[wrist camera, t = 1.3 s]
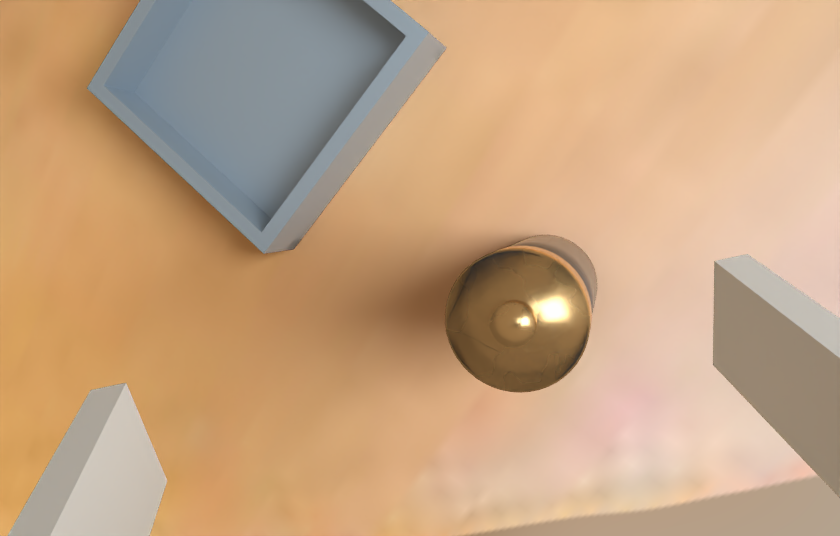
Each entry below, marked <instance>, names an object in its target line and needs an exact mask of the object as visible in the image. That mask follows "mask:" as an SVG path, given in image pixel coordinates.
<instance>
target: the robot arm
mask: <svg viewBox="0 0 840 536" xmlns="http://www.w3.org/2000/svg"><path fill="white" fill-rule="evenodd" d="M713 365H714V366H715V367H716V369H717V370H718V371H719V372H720V373H721V374H722V375H723V376H724V377H725V378H726V379H727V380H728V381H729V382H730V383H731V384H732V385H733V386H734V387H735V388H736V390H737V391H738V392H739V393H740V394H741V395H742V396H743V397H744V398H745V399H746V400H747V401H748V402H749V403H750V404H751V405H752V406H753V407H754V408H755V409H756V411H757V412H758V413H759V414H760V415H761V416H762V417H763V418H764V419H765V420H766V421H767V422H768V423H769V424H770V425H771V426H772V427H773V428H774V429H775V430H776V432H777V433H778V434H779V435H780V436H781V437H782V438H783V439H784V440H785V441H786V442H787V443H788V444H789V445H790V446H791V447H792V448H793V449H794V450H795V451H796V453H797V454H798V455H799V456H800V457H801V458H802V459H803V460H804V461H805V462H806V463H807V464H808V465H809V466H810V467H811V468H812V469H813V470H814V471H815V472H816V474H817V475H818V476H819V477H820V478H821V479H822V480H823V481H824V482H825V483H826V484H827V485H828V486H829V487H830V488H831V489H832V490H833V491H834V492H835V494H837V496H838V497H839V498H840V318H839V317H837V316H836V315H834V314H833V313H831V312H830V311H828V310H827V309H826V308H824V307H823V306H821V305H820V304H818V303H817V302H816V301H814V300H813V299H811V298H810V297H808V296H807V295H805V294H804V293H803V292H801V291H800V290H798V289H797V288H795V287H794V286H793V285H791V284H790V283H788V282H787V281H785V280H784V279H782V278H781V277H780V276H778V275H777V274H775V273H774V272H772V271H771V270H770V269H768V268H767V267H765V266H764V265H762V264H761V263H759V262H758V261H757V260H755V259H754V258H752V257H751V256H749V255H748V254H746V255H741V256H737V257H732V258H727V259H722V260H717V261H714V324H713ZM166 483H167V479H166V476H165V474H164V472H163V469H162V467H161V465H160V462H159V460H158V457H157V455H156V453H155V450H154V448H153V446H152V443H151V441H150V438H149V436H148V434H147V431H146V429H145V427H144V424H143V422H142V419H141V417H140V415H139V412H138V410H137V408H136V405H135V403H134V400H133V398H132V396H131V393H130V391H129V388H128V386H127V384H126V383H123V384H118V385H113V386H108V387H104V388H99V389H94V390H90V392H89V394H88V396H87V397H86V399H85V401H84V403H83V404H82V406H81V408H80V410H79V411H78V413H77V415H76V417H75V418H74V420H73V422H72V424H71V425H70V427H69V429H68V431H67V432H66V434H65V436H64V438H63V439H62V441H61V443H60V445H59V446H58V448H57V450H56V452H55V453H54V455H53V457H52V459H51V460H50V462H49V464H48V466H47V467H46V469H45V471H44V473H43V474H42V476H41V478H40V480H39V481H38V483H37V485H36V487H35V488H34V490H33V492H32V494H31V495H30V497H29V499H28V501H27V502H26V504H25V506H24V508H23V509H22V511H21V513H20V515H19V516H18V518H17V520H16V522H15V523H14V525H13V527H12V529H11V530H10V532H9V534H8V536H150V533H151V530H152V527H153V524H154V521H155V517H156V514H157V511H158V508H159V505H160V502H161V499H162V496H163V493H164V489H165V486H166Z"/></svg>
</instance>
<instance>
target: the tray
mask: <svg viewBox="0 0 840 536" xmlns="http://www.w3.org/2000/svg"><path fill="white" fill-rule="evenodd" d="M445 49H446V47H445V46H444V45H443V44H442V43H441V42H439V41H438V40H437V39H436V38H435V37H434V36H433V35H431V34H430V33H429V32H428V31H427V30H426V29H424V28H423V27H422V26H421V25H420V24H418V23H417V22H416V21H415V20H413V19H412V18H411V17H410V16H409V15H407V14H406V13H405V12H404V11H403V10H401V9H400V8H399V7H398V6H397V5H395V4H394V3H393V2H392V1H390V0H140V2H139V3H138V5H137V6H136V8H135V10H134V11H133V13H132V15H131V16H130V18H129V20H128V21H127V23H126V25H125V26H124V28H123V29H122V31H121V33H120V34H119V36H118V38H117V39H116V41H115V43H114V44H113V46H112V48H111V49H110V51H109V53H108V54H107V56H106V57H105V59H104V61H103V62H102V64H101V66H100V67H99V69H98V71H97V72H96V74H95V76H94V77H93V79H92V81H91V82H90V84H89V85H88V87H87V89H88V90H89V91H90V92H91V93H92V94H94V95H95V96H96V97H97V98H98V99H99V100H100V101H101V102H102V103H103V104H104V105H105V106H106V107H107V108H109V109H110V110H111V111H112V112H113V113H114V114H115V115H116V116H117V117H118V118H119V119H120V120H121V121H122V122H123V123H125V124H126V125H127V126H128V127H129V128H130V129H131V130H132V131H133V132H134V133H135V134H136V135H137V136H138V137H140V138H141V139H142V140H143V141H144V142H145V143H146V144H147V145H148V146H149V147H150V148H151V149H152V150H153V151H154V152H156V153H157V154H158V155H159V156H160V157H161V158H162V159H163V160H164V161H165V162H166V163H167V164H168V165H169V166H171V167H172V168H173V169H174V170H175V171H176V172H177V173H178V174H179V175H180V176H181V177H182V178H183V179H184V180H185V181H187V182H188V183H189V184H190V185H191V186H192V187H193V188H194V189H195V190H196V191H197V192H198V193H199V194H200V195H202V196H203V197H204V198H205V199H206V200H207V201H208V202H209V203H210V204H211V205H212V206H213V207H214V208H215V209H216V210H218V211H219V212H220V213H221V214H222V215H223V216H224V217H225V218H226V219H227V220H228V221H229V222H230V223H231V224H233V225H234V226H235V227H236V228H237V229H238V230H239V231H240V232H241V233H242V234H243V235H244V236H245V237H246V238H248V239H249V240H250V241H251V242H252V243H253V244H254V245H255V246H256V247H257V248H258V249H259V250H260V251H261V252H262V253H264V254H265V253H272V252H278V251H285V250H291V249H294V248H295V247H296V246H297V244H298V243H299V242H300V240H301V239H302V238H303V236H304V235H305V234H306V233H307V231H308V230H309V229H310V227H311V226H312V225H313V223H314V222H315V221H316V219H317V218H318V217H319V215H320V214H321V213H322V211H323V210H324V209H325V207H326V206H327V205H328V204H329V202H330V201H331V200H332V198H333V197H334V196H335V194H336V193H337V192H338V190H339V189H340V188H341V186H342V185H343V184H344V182H345V181H346V180H347V178H348V177H349V176H350V175H351V173H352V172H353V171H354V169H355V168H356V167H357V165H358V164H359V163H360V161H361V160H362V159H363V157H364V156H365V155H366V153H367V152H368V151H369V150H370V148H371V147H372V146H373V144H374V143H375V142H376V140H377V139H378V138H379V136H380V135H381V134H382V132H383V131H384V130H385V128H386V127H387V126H388V124H389V123H390V122H391V121H392V119H393V118H394V117H395V115H396V114H397V113H398V111H399V110H400V109H401V107H402V106H403V105H404V103H405V102H406V101H407V99H408V98H409V97H410V95H411V94H412V93H413V92H414V90H415V89H416V88H417V86H418V85H419V84H420V82H421V81H422V80H423V78H424V77H425V76H426V74H427V73H428V72H429V70H430V69H431V68H432V66H433V65H434V64H435V63H436V61H437V60H438V59H439V57H440V56H441V55H442V53H443V52H444V51H445Z"/></svg>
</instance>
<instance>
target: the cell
mask: <svg viewBox="0 0 840 536" xmlns="http://www.w3.org/2000/svg"><path fill="white" fill-rule="evenodd" d="M596 293H597V277H596V273H595V269H594V267H593V264H592V262H591V261H590V259H589V257H588V256H587V255H586V254H585V252H584V251H583V250H582V249H581V248H580V247H578V246H577V245H576V244H574V243H573V242H571V241H569V240H567V239H564V238H562V237H558V236H553V235H539V236H534V237H530V238H527V239H525V240H523V241H520V242H518V243H516V244H514V245H511V246H509V247H506V248H503V249H500V250H497V251H495V252H492V253H490V254H488V255H486V256H483V257H481V258H480V259H478V260H476V261H475V262H473V263H472V264H471V265H470V266H468V267H467V268H466V269H465V270H464V271H463V272H462V273H461V275H460V276H459V277H458V279H457V280H456V282H455V283H454V285H453V287H452V289H451V291H450V294H449V297H448V300H447V304H446V311H445V326H446V332H447V336H448V340H449V343H450V345H451V348H452V350H453V352H454V354H455V355H456V357H457V359H458V360H459V361H460V363H461V364H462V365H463V366H464V368H465V369H466V370H467V371H468V372H469V373H471V374H472V375H473V376H474V377H476V378H477V379H478V380H480V381H482V382H483V383H485V384H487V385H489V386H491V387H494V388H497V389H500V390H504V391H510V392H531V391H536V390H540V389H543V388H546V387H548V386H550V385H552V384H554V383H556V382H558V381H559V380H561V379H562V378H564V377H565V376H566V375H567V374H568V373H569V372H570V371H571V370H572V369H573V368H574V367H575V365H576V364H577V363H578V361H579V360H580V358H581V356H582V354H583V352H584V350H585V348H586V344H587V341H588V337H589V333H590V328H591V321H592V312H593V308H594V303H595V299H596Z"/></svg>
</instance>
